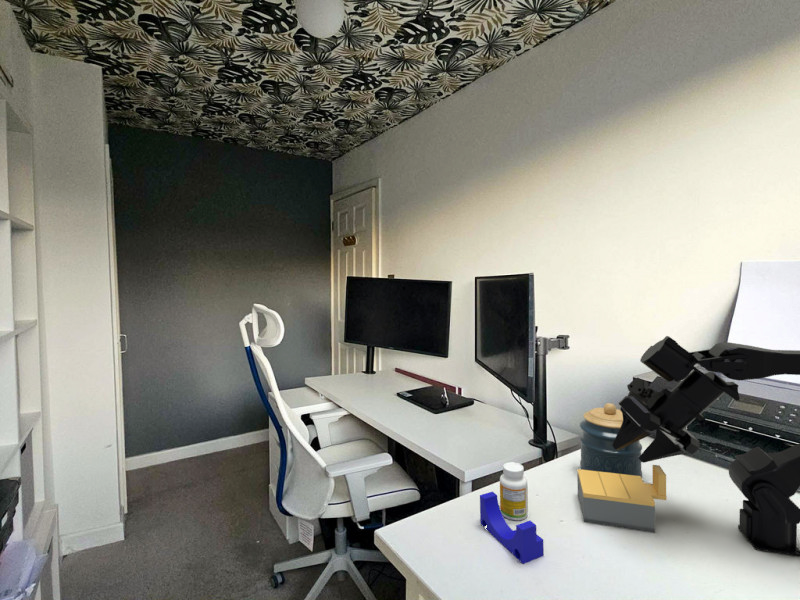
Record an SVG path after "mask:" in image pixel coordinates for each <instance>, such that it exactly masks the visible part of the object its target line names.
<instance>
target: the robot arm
mask: <svg viewBox="0 0 800 600" xmlns="http://www.w3.org/2000/svg"><path fill="white" fill-rule="evenodd" d="M639 360H640V363H642V364H643V365H645V367H647V368H648V369H650V370H651V371H653V372H654V373H655V374H656V375H658V376H659V377H660V378H662V379H663V380H664V381H666V382H668V383H669V382H675V383H678V384H676V385H675V387H674V388H673V389H671V390H670V389H668V388H667V387H666V388H663V389H662V390H660V391H656V390H654V389H652V388H650V387H649V382H647V380H645V379H642V378H640V377H636V378H634V379H633V380H632V381H631V382H630V383H628V384H627V385H626V386H627V389H628V390H627V391H629V392H628V394H627V395H626V396H624V397H623V398H622V399H621V400H620V401H619V402H618V405H619V406H620V407H619V410H621V412H622V415H623V422H622V425H621V427H620V430H619V432H618V434H617V436H616V438H615V440H614V442H613V444H612V446H613V447H614V449H616V450H618V449H621V448H624V447H626V446H628V445H630V444H632V443H634V442H637V441H639V440H643V439H645V438H647V437H649V436H651V435H652V434H651V432H653V431H655V438H654V439H653V440H652V442H651V443H649V445H648V446H647V447H646V448H645V449H644V450H643V452H641V456H640V457H639V459H640V461H641V463H645V464H646V463H648V462H654V461H655V460H661V459H665V458H670V457H674V456H680V455H684V456H685V455H686V456H687V454H691V455H694V454H695V453H696V452H697V451H698V450H700V448H701V445H700V440H699V439H697V438H696V436H694V435H693V434H692V433H691V432H690V431H688V429H686V428H687V427H689V425H691V424H692V422H693V421H695V420H696V419H697V420H698V421H699V422H702V421H703V420H704V419H706V418H705V416H703V413H704V412H705V411H706V410H707V409H708V408H710V406H712V405H713V404H714V403H715V402H716V401H717V400H719V399H720V398H721V397H722V396H723V395H724V394H727V396H729V397H731V399H733V400H734V401H740V399H741V398H740V394H739V385H738V384H737V383H736V382H734V380H735V381H748V380H757V379H758V380H759V379H765V378H769V377H773V376H780V375H783V376H784V375H789V376H790V375H792V376H793V375H794V376H800V350H795V349H793V350H791V349H788V350H787V349H770V348H763V347H758V346H753V345H748V344H741V343H735V342H727V341H726V342H725V341H724V342H723V341H722V342H718V343H715V344H714V345H713V346H712V347H711V348H710V349H709V348H707V349H704V350H697V351H688V350H686V348H684V347H682V346H681V345H680V344H679V343H678V342H677V341H676V340H675V339H673V338H672V337H671V336H668V335H666V336H665V337H664V338H662V339H661V340H659V341H658V342H655V343H654V344H653V345H650V346H649V347H648V349H646V350H645V352H644V353H643V355H641V357H640V359H639ZM697 364H698V365H699V366H701V368H703V369H705V370H706V371H707V372H705V373H704V372H702V371H701V370H700V369H699V368H697V367H696V365H697ZM716 373H719V374H721V375H723V376H724V377H726V378H728V379H730V380H733V381H726V380H724V379H723V378H721V377H720V376H719V375H717V374H716ZM734 457H735V458H736V459H734V460H733V461H732V462H731V463H730V464H729V465H728V466H729V468H728V474H729V475H728V476H729V478H730V479H731V482H733V484H734V485H735V486H736V487H737V488H738V490H739V491H740V492H741V494H742V495H743V496H744V497H745V498H746V499H743V500H742V508H740V509H739V521H738V522H739V524H737V528H738V530H739V531H740V532H741V534H742V535H743V536H744V537H745V538H746V539H747V541H748V542H749V543H750V544H751V546H752V547H753V548H754V549H756V550H758V551H764V552H769V553H770V552H771V553H777V554H783V555H788V556H789V555H790V556H798V557H800V548H799V547H797V545H798V544H797V539H798V538H797V535H798V533H797V532H798V524H800V507H799V506H798V505H797V504H796V503H795V502H794V501H793V500H792V499H791V497H793V496H795V494H796V493H797V491H798V490H799V489H800V442H798V443H797V444H795V445H793V446H790V447H787V448H786V449H783V450H781V451H778V452H765V451H764V450H763V449H761V447H759V446H756V447H753V448H751V449H750V450H748V451H746V452H745V453H742V454H736V455H734Z"/></svg>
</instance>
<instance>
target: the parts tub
mask: <svg viewBox="0 0 800 600" xmlns="http://www.w3.org/2000/svg"><path fill="white" fill-rule="evenodd" d="M577 498H578V503H579V507H580V511H581V516H582V519H583V523H587V524H594V525H598V526H599V525H600V526H606V527H611V528H612V527H614V528H620V529H625V530H626V529H628V530H632V531H633V530H634V531H641V532H646V533H647V532H648V533H652V534H655V533H656V506H655V507H654V506H647V505H639V504H632V503H624V502H617V501H609V500H602V499H594V498H586V497H583V493H582V489H581V485H580V481H579V477H578V476H577Z"/></svg>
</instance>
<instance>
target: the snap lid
mask: <svg viewBox="0 0 800 600" xmlns="http://www.w3.org/2000/svg"><path fill="white" fill-rule="evenodd" d="M578 477H579V481H580V485H581V489H582V493H583V497H586V498H594V499H602V500H609V501H617V502H624V503H632V504H639V505H647V506H654V507H655V508H656V501H655V500H660V501H667V474H666V472H665V471H664V470H663V469H662V467H661V465H658V464H652V483H648V482H644V480H643V477H642V478H641V476H634V475H626V474H617V473H608V472H599V471H590V470H581V468H580V469H578V468H577V478H578Z"/></svg>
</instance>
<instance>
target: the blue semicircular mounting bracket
mask: <svg viewBox="0 0 800 600" xmlns="http://www.w3.org/2000/svg"><path fill="white" fill-rule="evenodd" d="M498 499H499V498H498V494H496V493H495V492H494V491H490V492H487V493H482V494H480V495H479V512H480V513H479V514H480V515H479V516H480V519H479V520H480V522H479V523H480V525H481V524H482V525H483V526H486V525H487V528H486V529H487V530H488V531H489V532H490V533H491V534H490V533H489V534H490V535H491V536H493V538H495V539H496V540H497V541H498V542H499V543H500V544H501V545H502V546H503V547H504V548H505V549H506V550H507V551H508V552H510V554H511V555H513V556H514V557H515V558H516V559H517V560H518V561H519V562H520V563H521V564H522V565H524V564H526V563H529V562H531V561H532V562H533V561H534V560H537V559H539V558H541V557H544V548H545V547H544V539H543V538H542V537H541V536H540V535H538V534H537V525H536V524H535V523H534V521H531V520H527V521H524V522H522V523H519V524H517V525H515V530H513V529H512V528H511V527H510V526H509V525H508V523H507V521H506V520H505V517H504V516H503V515H502V513H501V511H500V503H499V500H498ZM482 525H481V526H482ZM483 526H482V527H483ZM486 529H485V530H486ZM487 530H486V531H487ZM488 531H487V532H488Z"/></svg>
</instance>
